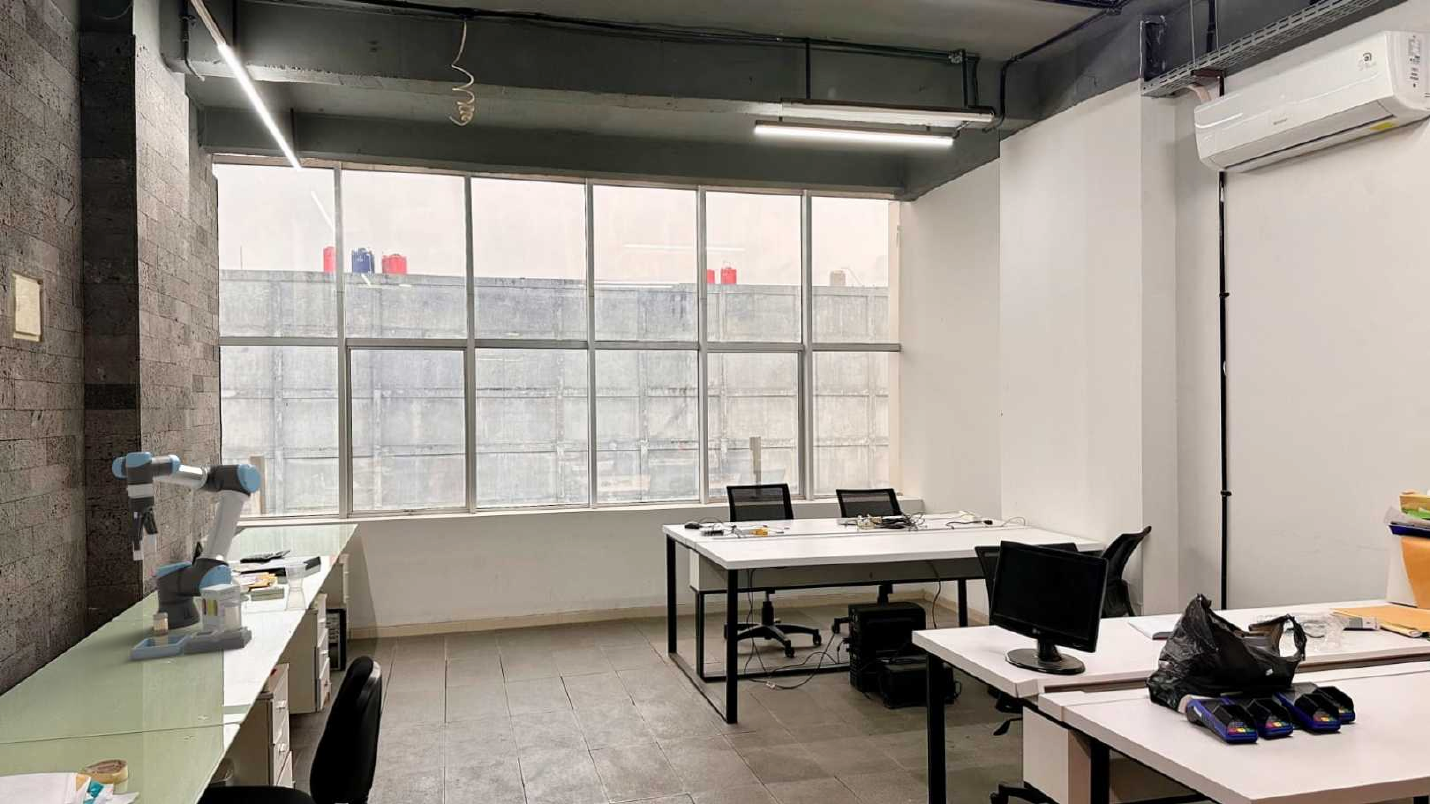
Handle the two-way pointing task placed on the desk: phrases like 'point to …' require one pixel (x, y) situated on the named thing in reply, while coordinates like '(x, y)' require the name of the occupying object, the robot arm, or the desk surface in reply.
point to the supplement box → (218, 605)
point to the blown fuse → (161, 629)
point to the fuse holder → (221, 634)
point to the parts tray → (160, 647)
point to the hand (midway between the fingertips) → (145, 556)
